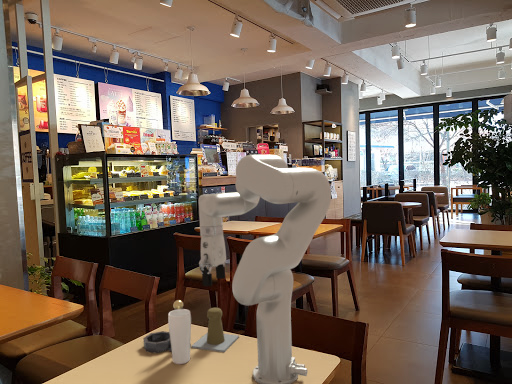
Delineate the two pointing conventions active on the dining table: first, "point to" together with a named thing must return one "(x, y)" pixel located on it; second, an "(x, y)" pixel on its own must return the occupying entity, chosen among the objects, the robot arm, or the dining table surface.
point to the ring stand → (160, 337)
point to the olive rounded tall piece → (215, 327)
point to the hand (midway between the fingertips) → (214, 281)
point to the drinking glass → (180, 335)
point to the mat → (219, 347)
